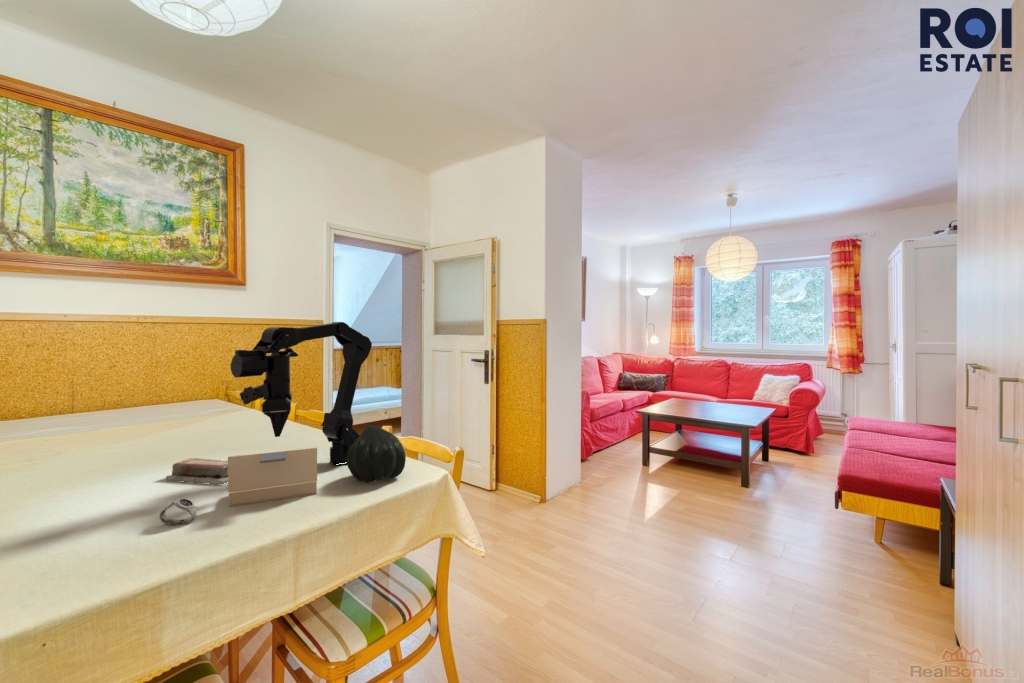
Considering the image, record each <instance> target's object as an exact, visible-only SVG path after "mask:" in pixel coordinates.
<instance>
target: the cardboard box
mask: <svg viewBox="0 0 1024 683" xmlns="http://www.w3.org/2000/svg"><path fill="white" fill-rule="evenodd" d="M317 483H318V480H317V481H311V482H304V483H296V484H289V485H281V486H274V487H267V488H259V489H252V490H244V491H237V492H229V493H228V506H229V507H235V506H243V505H249V504H256V503H263V502H271V501H277V500H284V499H291V498H296V497H304V496H310V495H316V494H317V487H318V486H317Z"/></svg>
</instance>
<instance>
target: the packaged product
mask: <svg viewBox="0 0 1024 683" xmlns="http://www.w3.org/2000/svg"><path fill="white" fill-rule="evenodd" d="M166 480H172V481H171V482H176V481H184V482H183V483H186V482H193V483H192V484H197V483H209V484H208V485H210V484H224V483H227V482H228V460H221V459H210V458H199V457H198V458H197V457H196V458H195V457H192V458H187V459H184V460H180V461H178V462H176V463H173V464H172V470H171V474H170V475H166V476H165V481H166ZM227 484H228V483H227ZM224 485H225V484H224Z"/></svg>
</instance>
